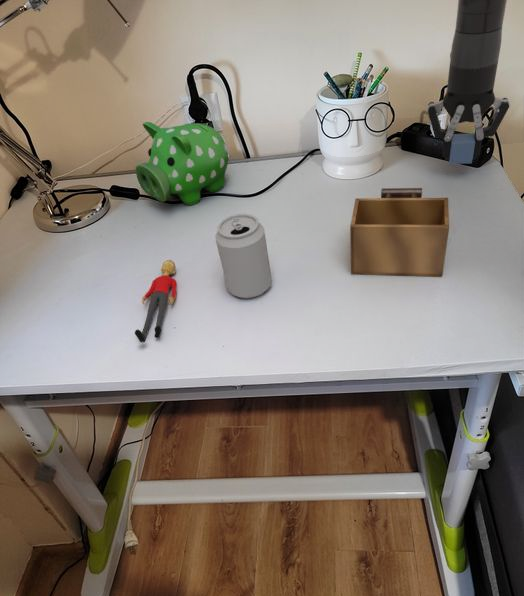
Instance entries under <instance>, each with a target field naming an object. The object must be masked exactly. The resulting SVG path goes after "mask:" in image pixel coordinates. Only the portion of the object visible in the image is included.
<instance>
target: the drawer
mask: <svg viewBox="0 0 524 596" xmlns="http://www.w3.org/2000/svg"><path fill="white" fill-rule="evenodd" d="M449 206H450V204H449V197H423V187H388V188H387V187H386V188H385V187H383V188H381V190H380V197H375V198H372V197H371V198H370V197H367V198H365V197H364V198H363V197H362V198H361V197H360V198H359V197H358V198H355V199H354V204H353V209H352V214H351V215H352V216H351V221H350V226H349V228H350V229H349V231H350V233H349V235H350V236H349V237H350V238H349V239H350V240H349V241H350V242H349V243H350V244H349V245H350V275H363V276H364V275H365V276H395V277H397V276H399V277H433V278H442V277H443V275H444V267H445V261H446V254H447V246H448V239H449V233H450V210H449V209H450V207H449Z"/></svg>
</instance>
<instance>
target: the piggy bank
mask: <svg viewBox="0 0 524 596" xmlns="http://www.w3.org/2000/svg"><path fill="white" fill-rule="evenodd" d="M142 126H143V128H144V129H145V131H146V132H147V133H148V135H150V137H151V139H152V143H151V147H150V148H149V149H148V150H147V154H148V156H149V159H148V161H146V162H142V163H139V164H137V165H135V166H136V167H135V175H136V178H137V182H138V184H139V186H140V187H141V189H142V191H144V192H145V194H147V195H148V196H149V197H152V198H154V199H156V200H157V201H159V202H161V203H165V202H166V201H167V200H168V199H169V198H170V197H172V198H176V197H179V199H180V201H181V202H182V203H184V204H185V205H186V206H193V205H196V204H198V203H199V202H200V199H201V190H202V189H204V190H206V191H207V192H209V193H216V192H219V191H221V190H222V189H223V188H224V185H225V184H226V171H227V169H228V164H229V153H228V152H229V151H228V148H227V144H226V142H225V140H224V138H223V136H222V135H221V133H219V132H218V130H216V129H214V128H213V127H211V126H209V125H206V124H203V123H184V124H181V125H176V126H166V127H159V126H158V125H157V124H155V123H153V122H151V121H145V122H142Z"/></svg>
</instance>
